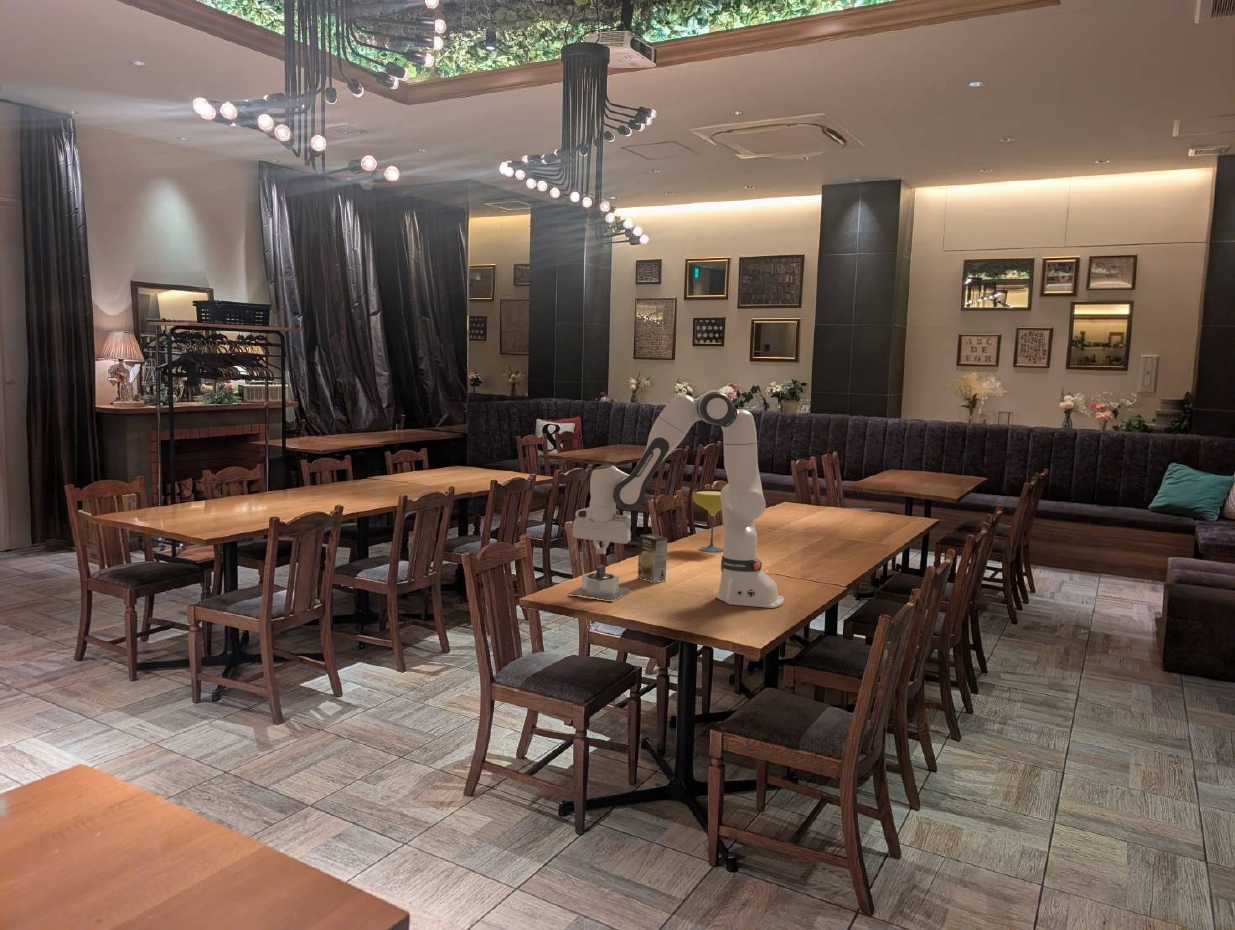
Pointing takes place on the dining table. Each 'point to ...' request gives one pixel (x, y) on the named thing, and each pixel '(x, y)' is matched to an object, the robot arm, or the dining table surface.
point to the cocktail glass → (709, 509)
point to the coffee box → (652, 557)
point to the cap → (600, 573)
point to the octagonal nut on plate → (600, 587)
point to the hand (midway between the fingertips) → (600, 553)
